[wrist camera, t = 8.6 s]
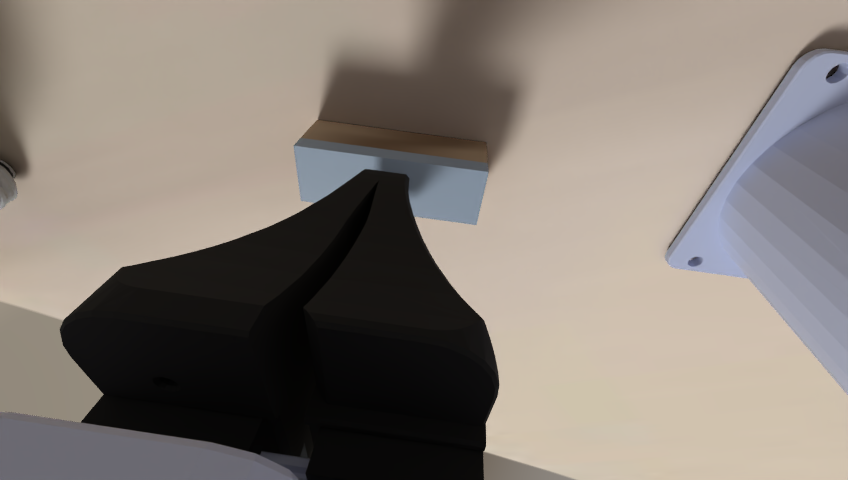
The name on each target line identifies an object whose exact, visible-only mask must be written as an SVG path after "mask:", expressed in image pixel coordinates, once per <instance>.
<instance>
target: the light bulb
mask: <svg viewBox="0 0 848 480" xmlns="http://www.w3.org/2000/svg"><path fill="white" fill-rule="evenodd" d="M15 175H16V174H15V172H14V170H13V169H12V168H11V167H10V166H9V165H8V164H7V163H5V162H4V161H2V160H0V209H2V208H3V207H5V206H6V204H7V203H9V202H10V201H13V200H14V199H16V197H17V194H18V193H17V187H16V183H15V181H14V179H13V178H15Z"/></svg>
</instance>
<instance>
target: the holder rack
mask: <svg viewBox="0 0 848 480" xmlns="http://www.w3.org/2000/svg"><path fill="white" fill-rule="evenodd" d="M294 152H295V160H296V167H297V175H298V182H299V189H300V197H301V201H306V202H313V203H316V202H317V201H319V200H321V199H322V198H324V197H326V196H327V195H329V194H330V193H332V192H333V191H335V190H336V189H337V188H339V187H340V186H342V185H343V184H345V183H346V182H347V181H349V180H350V179H352V178H353V177H354V176H356V175H357V174H358V173H360V172H361V171H363V170H364V169H371V170H378V171H385V172H393V173H400V174H406V175H407V176H408V177H409V178H410V179H409V191H408V192H409V199H410V204H411V208H412V211H413V215H414V216H415V217H422V218H429V219H436V220H444V221H451V222H458V223H465V224H473V225H476V224H477V220H478V216H479V211H480V207H481V203H482V198H483V194H484V190H485V185H486V181H487V177H488V172H489V171H488V159H487V146H486V142H479V141H471V140H464V139H456V138H449V137H441V136H434V135H426V134H419V133H411V132H404V131H397V130H389V129H382V128H374V127H367V126H359V125H352V124H344V123H337V122H329V121H322V120H317V121H316V122H315V123H314V124H313V125H312V126H311V127H310V128H309V129H308V131H307V132H306V133H305V134H304V135H303V136H302V137H301V138H300V139H299V140H298V141H297V143H296V144H295V145H294Z"/></svg>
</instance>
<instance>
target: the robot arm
mask: <svg viewBox="0 0 848 480" xmlns="http://www.w3.org/2000/svg"><path fill="white" fill-rule="evenodd" d="M838 64H839V67H838V69H837V71H836V72H835V73H834V74H833V75H832V76H830V77H829V78H827V79H826V76H827V74H828V72H829V71H830V70H831V69H832V68H833V67H835V66H837V65H838ZM409 179H410V178H409V177H408V176H407V175H406V174H400V173H393V172H385V171H378V170H371V169H364V170H363V171H361V172H360V173H358V174H357V175H356V176H354V177H353V178H352V179H350V180H349V181H347V182H346V183H345V184H343V185H342V186H340V187H339V188H337V189H336V190H335V191H333V192H332V193H330V194H329V195H327V196H326V197H324V198H322V199H321V200H319V201H317V202H316V203H314V204H312V205H311V206H309V207H307V208H306V209H304V210H302V211H300V212H299V213H297V214H295V215H293V216H291V217H289V218H287V219H285V220H283V221H280V222H278V223H276V224H274V225H272V226H269V227H267V228H265V229H262V230H259V231H257V232H254V233H251V234H249V235H246V236H243V237H241V238H238V239H235V240H232V241H229V242H226V243H223V244H220V245H216V246H213V247H210V248H206V249H202V250H199V251H195V252H191V253H187V254H183V255H179V256H175V257H170V258H165V259H161V260H156V261H151V262H146V263H142V264H137V265H132V266H126V267H122V268H121V269H119V270H118V271H117V272H116V273H115V274H114V275H113V276H112V277H111V278H109V279H108V280H107V281H106V282H105V283H104V284H103V285H102V286H101V287H100V288H98V289H97V290H96V291H95V292H94V293H93V294H92V295H91V296H90V297H88V298H87V299H86V300H85V301H84V302H83V303H82V304H81V305H80V306H79V307H77V308H76V309H75V310H74V311H73V312H72V313H71V314H70V315H69V316H67V317H66V318H65V319H64V321H63V323H62V326H61V328H60V333H61V338H62V342H63V346H64V347H65V349H66V350H67V352H68V353H69V355H70V356H71V357H72V359H73V360H74V361H75V362H76V363H77V364H78V366H79V367H80V368H81V369H82V370H83V371H84V372H85V373H86V375H87V376H88V377H89V378H90V379H91V380H92V381H93V383H94V384H95V385H96V386H97V387H98V388H99V389H100V391H101V392H102V393H103V394H104V395H103V396H102V397H101V399H100V400H99V401H98V402H97V403H96V405H95V406H94V407H93V408H92V409H91V411H90V412H89V413H88V414H87V415H86V416H85V418H84V419H83V420H82V421H81V423H79V422H73V421H66V420H60V419H53V418H46V417H40V416H33V415H27V414H20V413H13V412H0V480H484V474H483V473H484V472H483V451H484V450H485V448H486V421H487V419H488V417H489V414H490V412H491V410H492V407H493V405H494V403H495V401H496V398H497V395H498V389H499V376H498V370H497V364H496V359H495V355H494V351H493V347H492V343H491V340H490V337H489V334H488V331H487V328H486V325H485V322H484V320H483V319H482V318H481V317H480V316H479V315H478V314H477V313H476V312H475V311H474V310H473V309H472V308H471V307H470V306H469V305H468V304H467V303H466V302H465V301H464V300H463V299H462V298H461V297H460V295H459V294H458V293H457V292H456V290H455V289H454V288H453V287H452V286H451V284H450V283H449V282H448V280H447V279H446V277H445V276H444V274H443V273H442V272H441V270H440V269H439V267H438V266H437V264H436V263H435V261H434V259H433V258H432V256H431V254H430V253H429V251H428V249H427V247H426V245H425V243H424V241H423V239H422V236H421V234H420V232H419V229H418V227H417V224H416V221H415V218H414V215H413V211H412V208H411V204H410V199H409V192H408V191H409ZM694 257H696V258H695V259H692V260H690V259H691V258H694ZM665 260H666V261H667V263H668V264H669V265H670V266H671V267H673V268H676V269H684V270H691V271H698V272H705V273H712V274H720V275H727V276H734V277H741V278H748V279H749V280H750V281H751V282H752V283H753V285H754V286H755V287H756V288H757V289H758V290H759V292H760V293H761V294H762V295H763V296H764V297H765V299H766V300H767V301H768V302H769V303H770V305H771V306H772V307H773V308H774V309H775V310H776V312H777V313H778V314H779V315H780V316H781V317H782V319H783V320H784V321H785V322H786V323H787V324H788V326H789V327H790V328H791V329H792V330H793V332H794V333H795V334H796V335H797V336H798V337H799V339H800V340H801V341H802V342H803V343H804V344H805V346H806V347H807V348H808V349H809V350H810V351H811V353H812V354H813V355H814V356H815V357H816V359H817V360H818V361H819V362H820V363H821V364H822V366H823V367H824V368H825V369H826V370H827V371H828V373H829V374H830V375H831V376H832V377H833V378H834V380H835V381H836V382H837V383H838V384H839V386H840V387H841V388H842V389H843V390H844V391H845V393H846V394H847V395H848V51H841V50H833V49H825V48H823V49H815V50H813V51H810V52H808V53H806V54H805V55H803V56H802V57H800V58H799V59H798V60H797V61H796V62H795V64H794V65H793V66H792V67H791V69H790V70H789V72H788V73H787V75H786V76H785V78H784V79H783V81H782V82H781V84H780V85H779V87H778V88H777V90H776V91H775V93H774V94H773V96H772V97H771V98H770V100H769V101H768V103H767V104H766V106H765V107H764V109H763V110H762V112H761V113H760V115H759V116H758V118H757V119H756V121H755V122H754V124H753V125H752V127H751V128H750V130H749V131H748V132H747V134H746V135H745V137H744V138H743V140H742V141H741V143H740V144H739V146H738V147H737V149H736V150H735V152H734V153H733V155H732V156H731V158H730V159H729V161H728V162H727V164H726V165H725V167H724V168H723V169H722V171H721V172H720V174H719V175H718V177H717V178H716V180H715V181H714V183H713V184H712V186H711V187H710V189H709V190H708V192H707V193H706V195H705V196H704V198H703V199H702V201H701V202H700V203H699V205H698V206H697V208H696V209H695V211H694V212H693V214H692V215H691V217H690V218H689V220H688V221H687V223H686V224H685V226H684V227H683V229H682V230H681V232H680V233H679V235H678V236H677V237H676V239H675V240H674V242H673V243H672V245H671V246H670V248H669V249H668V251H667V252H666V255H665Z"/></svg>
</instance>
